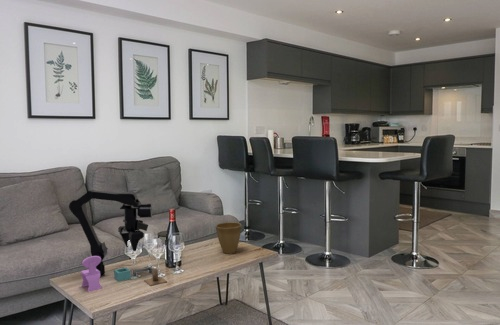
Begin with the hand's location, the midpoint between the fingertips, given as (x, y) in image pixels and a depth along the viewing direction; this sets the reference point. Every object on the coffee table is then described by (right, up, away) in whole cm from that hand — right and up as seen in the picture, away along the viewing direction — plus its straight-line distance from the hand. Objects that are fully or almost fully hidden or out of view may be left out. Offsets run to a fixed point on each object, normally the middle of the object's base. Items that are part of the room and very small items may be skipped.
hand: (131, 249), depth 201 cm
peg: (+15, -13, -11) cm, 22 cm away
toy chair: (-13, -14, -17) cm, 25 cm away
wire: (+8, -13, -2) cm, 15 cm away
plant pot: (+47, -10, +36) cm, 60 cm away
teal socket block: (-2, -13, -6) cm, 14 cm away
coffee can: (+13, -11, +27) cm, 31 cm away
